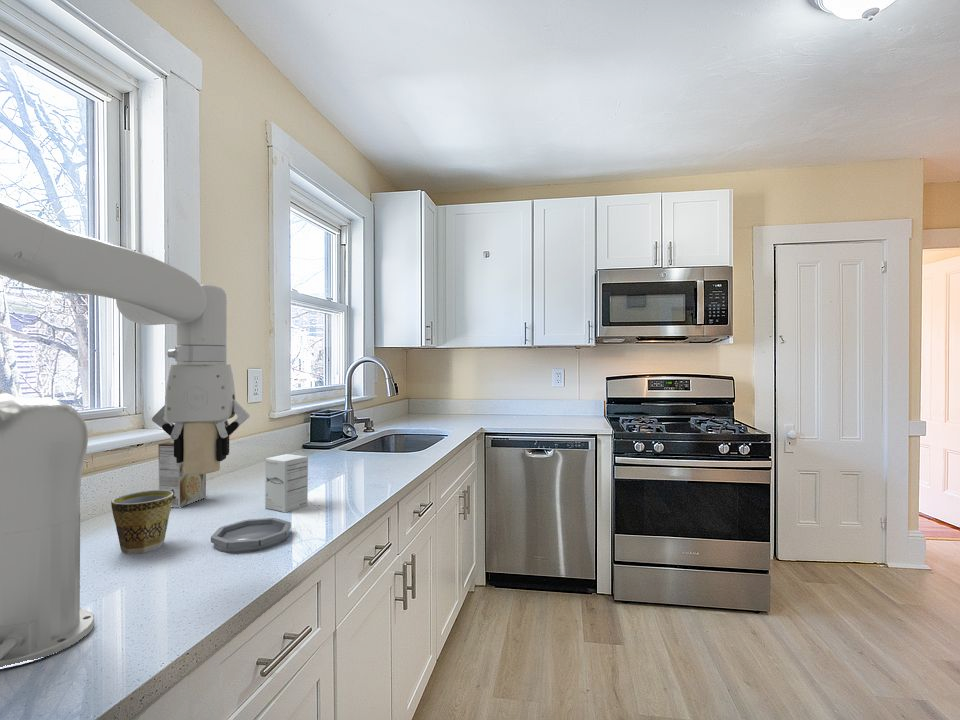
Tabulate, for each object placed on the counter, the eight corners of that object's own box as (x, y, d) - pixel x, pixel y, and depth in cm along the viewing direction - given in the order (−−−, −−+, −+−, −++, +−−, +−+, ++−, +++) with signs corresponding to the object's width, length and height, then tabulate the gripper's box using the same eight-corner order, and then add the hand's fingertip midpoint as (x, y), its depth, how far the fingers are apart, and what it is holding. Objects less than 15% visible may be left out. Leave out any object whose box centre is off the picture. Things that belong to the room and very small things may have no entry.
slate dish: (282, 549, 93) (282, 538, 93) (203, 555, 90) (203, 544, 90) (294, 525, 107) (294, 516, 107) (225, 530, 104) (225, 521, 104)
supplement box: (264, 509, 119) (264, 458, 119) (288, 501, 126) (288, 453, 126) (284, 513, 116) (284, 460, 116) (308, 505, 122) (308, 455, 122)
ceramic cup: (183, 544, 96) (183, 494, 96) (126, 562, 87) (126, 507, 87) (150, 532, 102) (150, 485, 103) (94, 548, 94) (94, 497, 94)
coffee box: (185, 497, 130) (185, 437, 130) (206, 498, 129) (206, 438, 129) (157, 507, 120) (157, 443, 121) (180, 508, 119) (180, 444, 120)
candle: (203, 475, 80) (203, 415, 80) (175, 474, 81) (175, 415, 81) (227, 468, 85) (227, 412, 86) (200, 467, 87) (200, 411, 87)
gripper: (135, 356, 78) (135, 467, 78) (249, 356, 82) (249, 462, 82) (156, 356, 85) (156, 458, 85) (260, 356, 89) (260, 454, 89)
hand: (202, 459), depth 83 cm, fingers closed on candle, 5 cm apart
